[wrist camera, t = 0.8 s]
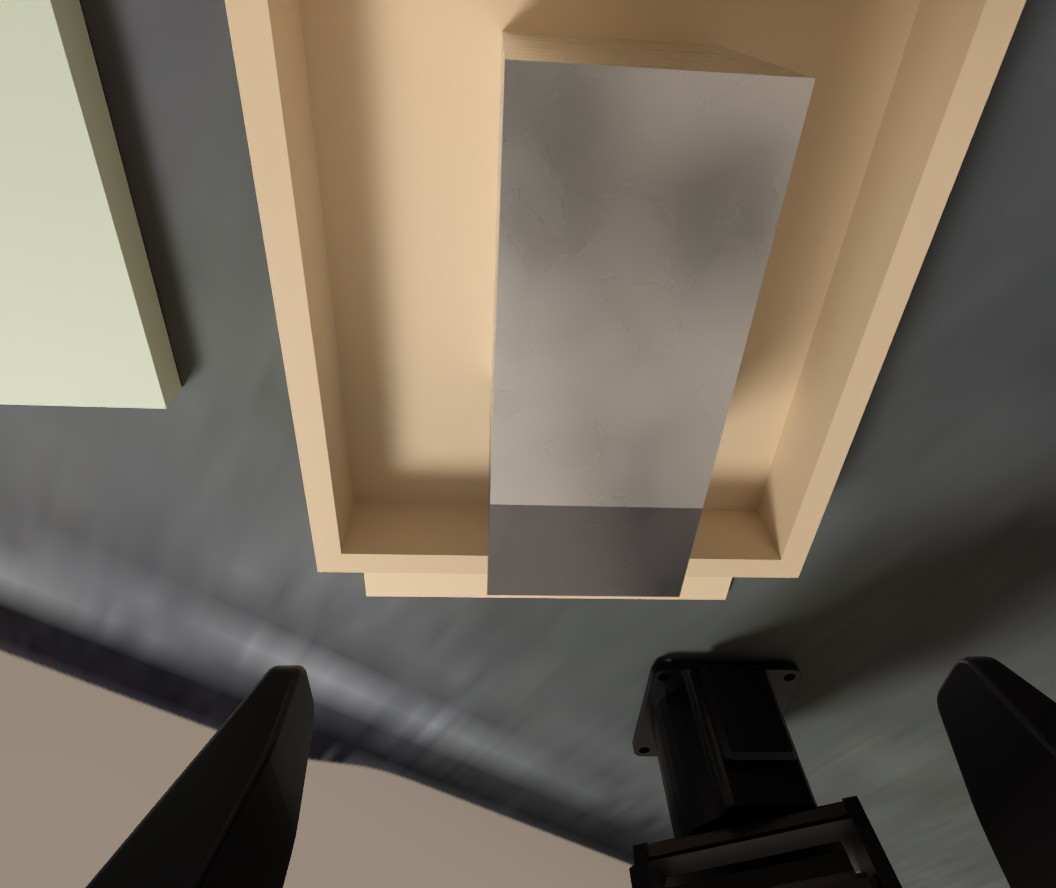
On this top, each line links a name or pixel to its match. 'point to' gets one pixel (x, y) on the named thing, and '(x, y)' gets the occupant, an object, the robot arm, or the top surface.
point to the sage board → (69, 230)
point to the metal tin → (623, 297)
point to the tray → (469, 254)
